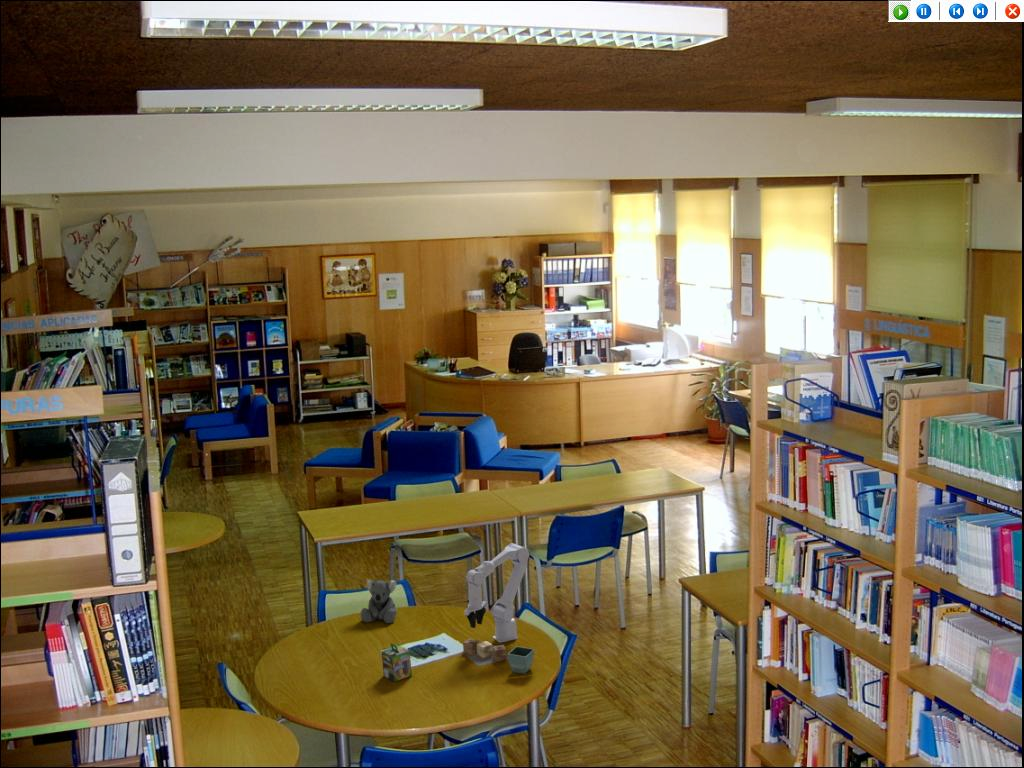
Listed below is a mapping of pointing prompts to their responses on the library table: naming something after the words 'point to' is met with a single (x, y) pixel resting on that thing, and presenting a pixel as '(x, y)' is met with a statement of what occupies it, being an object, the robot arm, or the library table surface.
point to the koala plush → (380, 602)
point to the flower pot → (521, 659)
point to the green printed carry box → (396, 663)
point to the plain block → (484, 649)
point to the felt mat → (481, 659)
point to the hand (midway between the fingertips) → (476, 625)
